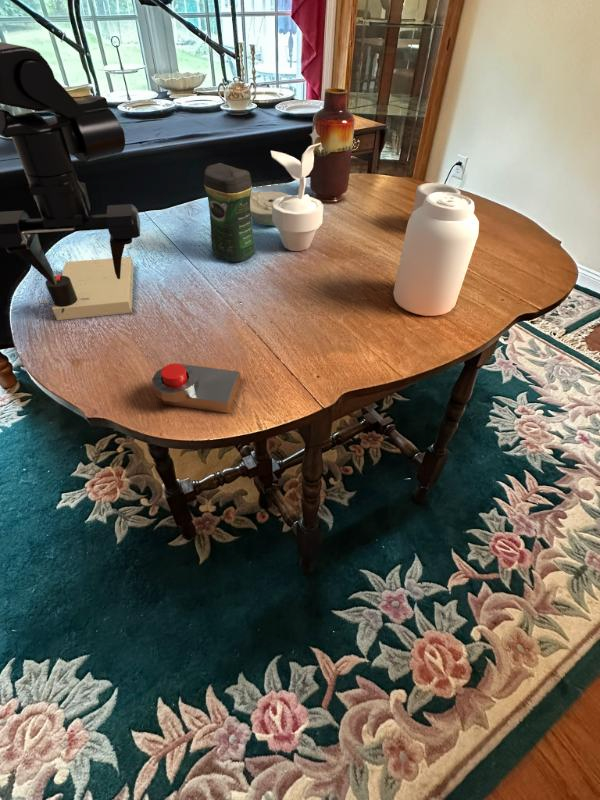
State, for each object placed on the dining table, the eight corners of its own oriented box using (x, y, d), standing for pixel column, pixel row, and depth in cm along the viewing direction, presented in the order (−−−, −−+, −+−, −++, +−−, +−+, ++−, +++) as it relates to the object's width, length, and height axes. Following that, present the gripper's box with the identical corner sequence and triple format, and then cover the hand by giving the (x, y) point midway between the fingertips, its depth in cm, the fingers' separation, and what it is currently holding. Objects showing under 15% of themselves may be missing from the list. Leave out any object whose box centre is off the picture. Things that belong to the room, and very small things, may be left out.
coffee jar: (260, 254, 100) (258, 167, 87) (236, 267, 95) (230, 176, 82) (230, 242, 104) (223, 157, 91) (206, 253, 99) (195, 165, 86)
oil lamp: (213, 215, 115) (211, 195, 112) (248, 200, 124) (247, 181, 120) (275, 237, 107) (275, 216, 103) (308, 219, 115) (309, 199, 112)
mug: (442, 242, 108) (453, 200, 101) (402, 231, 112) (410, 190, 105) (458, 224, 116) (470, 184, 109) (420, 214, 120) (429, 176, 113)
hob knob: (76, 305, 78) (67, 284, 75) (52, 307, 77) (42, 286, 74) (78, 294, 81) (70, 272, 78) (55, 296, 80) (46, 275, 77)
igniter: (151, 409, 64) (145, 389, 61) (172, 373, 69) (167, 353, 67) (226, 419, 63) (223, 400, 60) (240, 382, 68) (238, 362, 66)
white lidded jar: (446, 324, 82) (481, 218, 68) (384, 306, 86) (404, 202, 72) (460, 294, 90) (493, 194, 76) (402, 279, 94) (424, 181, 80)
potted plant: (329, 244, 105) (339, 125, 87) (303, 262, 98) (308, 136, 80) (287, 230, 110) (288, 115, 92) (259, 246, 103) (254, 125, 85)
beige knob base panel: (42, 327, 77) (37, 315, 75) (58, 273, 91) (54, 261, 89) (131, 318, 80) (127, 306, 78) (133, 267, 94) (131, 256, 92)
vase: (305, 202, 124) (310, 92, 106) (313, 189, 132) (318, 84, 113) (343, 206, 122) (354, 96, 104) (349, 193, 130) (360, 88, 112)
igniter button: (159, 386, 62) (157, 377, 61) (168, 371, 64) (166, 361, 63) (182, 389, 62) (180, 380, 60) (190, 373, 64) (188, 364, 63)
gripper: (127, 149, 63) (149, 252, 74) (-17, 154, 59) (29, 261, 70) (125, 174, 55) (151, 284, 66) (-40, 181, 51) (16, 297, 62)
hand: (87, 280), depth 66 cm, fingers open, 9 cm apart
